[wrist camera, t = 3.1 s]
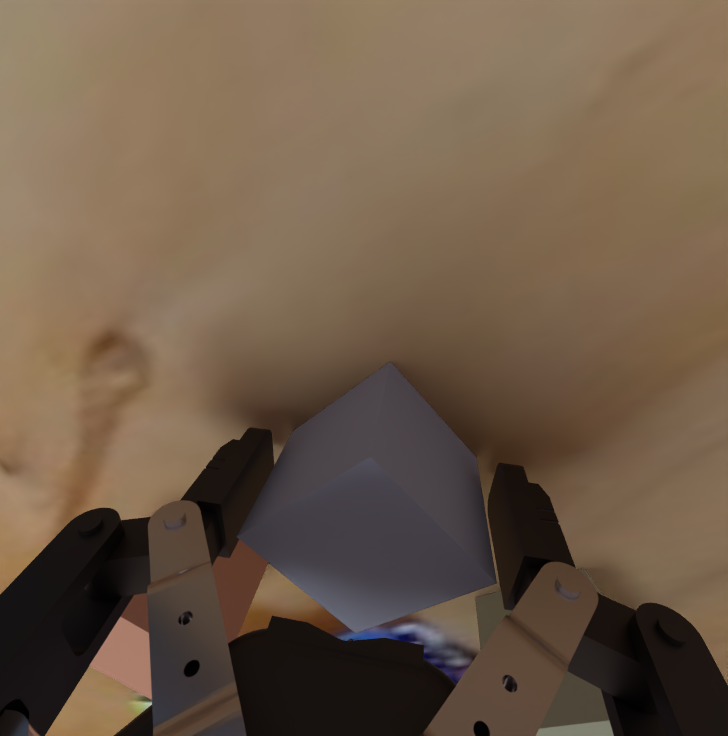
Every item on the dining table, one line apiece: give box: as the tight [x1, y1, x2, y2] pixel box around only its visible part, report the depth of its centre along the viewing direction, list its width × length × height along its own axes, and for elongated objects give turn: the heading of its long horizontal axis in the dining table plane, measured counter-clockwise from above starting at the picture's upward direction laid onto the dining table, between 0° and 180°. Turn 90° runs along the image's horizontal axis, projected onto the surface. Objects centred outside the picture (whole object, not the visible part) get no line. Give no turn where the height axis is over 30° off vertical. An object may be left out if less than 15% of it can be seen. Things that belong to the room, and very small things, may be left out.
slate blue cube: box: [237, 361, 497, 633], centre depth 12 cm, size 5×5×5 cm
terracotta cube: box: [89, 539, 268, 700], centre depth 17 cm, size 5×5×5 cm
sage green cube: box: [475, 569, 614, 736], centre depth 15 cm, size 5×5×5 cm
